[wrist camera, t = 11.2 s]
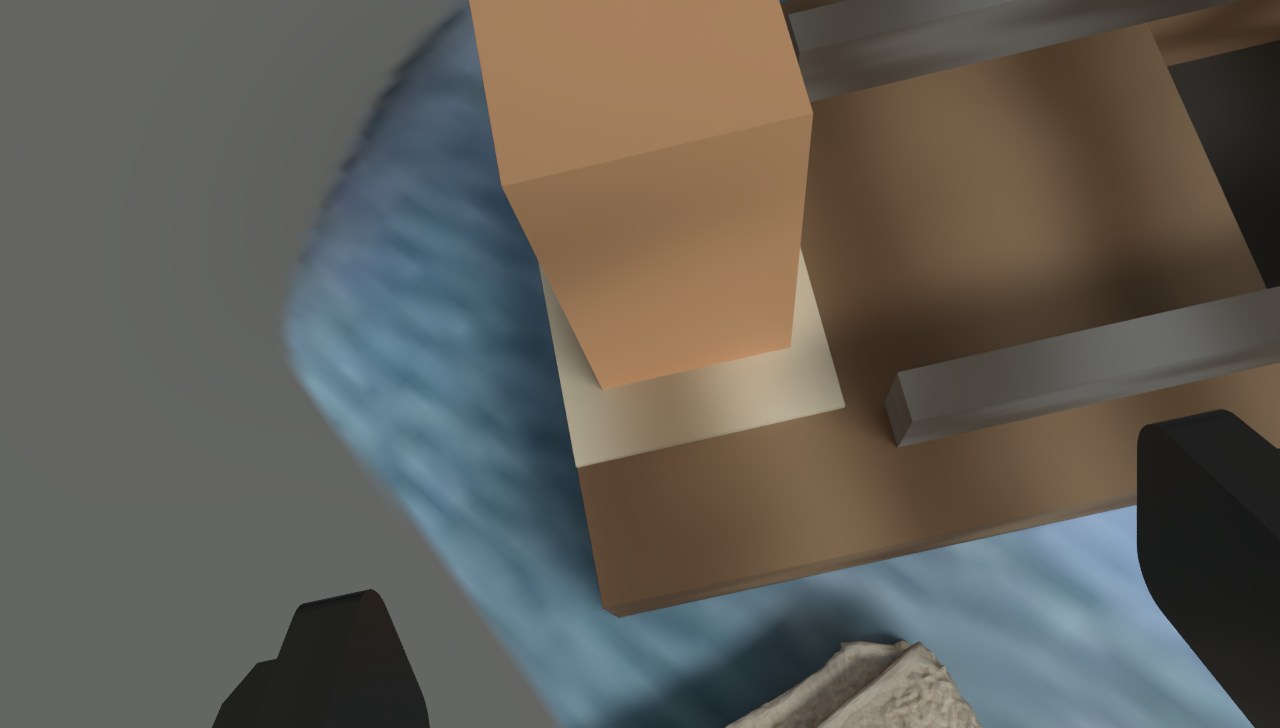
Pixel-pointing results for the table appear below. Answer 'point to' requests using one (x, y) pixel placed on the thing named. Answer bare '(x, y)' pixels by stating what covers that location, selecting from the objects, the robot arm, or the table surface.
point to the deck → (964, 295)
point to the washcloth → (870, 693)
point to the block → (654, 171)
